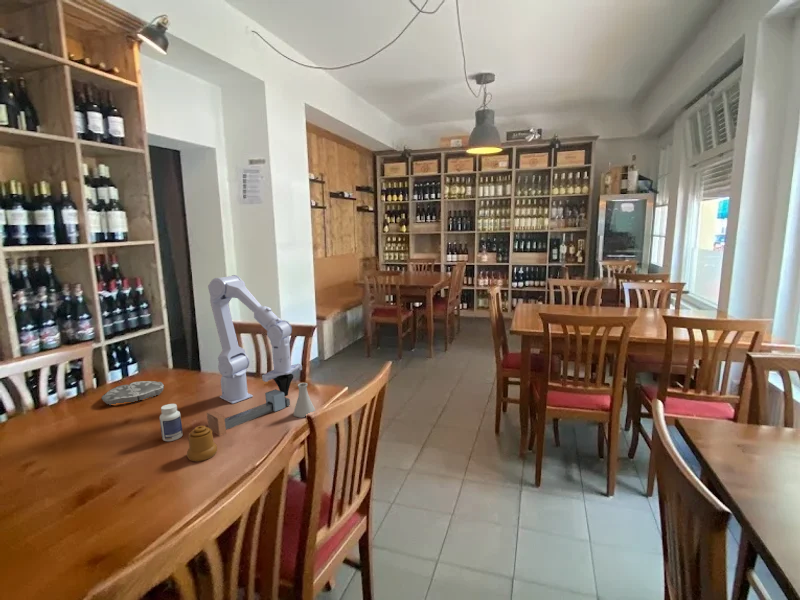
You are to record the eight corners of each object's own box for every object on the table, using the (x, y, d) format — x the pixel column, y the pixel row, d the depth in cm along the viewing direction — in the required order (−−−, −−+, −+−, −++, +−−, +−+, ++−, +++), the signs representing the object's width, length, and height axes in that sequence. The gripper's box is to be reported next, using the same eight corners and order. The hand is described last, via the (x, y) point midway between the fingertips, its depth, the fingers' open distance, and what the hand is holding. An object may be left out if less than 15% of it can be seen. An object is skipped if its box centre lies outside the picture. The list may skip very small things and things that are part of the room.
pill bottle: (187, 434, 125) (183, 404, 124) (170, 443, 120) (166, 411, 119) (174, 431, 128) (170, 401, 126) (158, 439, 123) (154, 408, 121)
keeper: (266, 407, 142) (265, 392, 142) (276, 403, 145) (275, 389, 145) (275, 411, 139) (274, 396, 138) (285, 407, 142) (284, 392, 141)
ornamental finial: (220, 446, 118) (213, 461, 111) (192, 449, 117) (183, 464, 110) (218, 420, 117) (210, 432, 109) (189, 422, 115) (179, 435, 108)
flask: (318, 408, 141) (316, 380, 139) (311, 418, 134) (309, 388, 132) (297, 408, 142) (295, 380, 140) (289, 418, 135) (287, 388, 133)
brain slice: (157, 384, 169) (156, 377, 168) (169, 395, 156) (168, 388, 156) (98, 398, 156) (96, 390, 155) (105, 412, 143) (104, 404, 143)
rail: (208, 429, 128) (206, 412, 128) (280, 401, 148) (279, 386, 147) (219, 436, 124) (217, 418, 123) (292, 406, 143) (291, 391, 142)
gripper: (269, 365, 134) (272, 405, 137) (306, 354, 145) (308, 391, 147) (257, 361, 139) (260, 399, 141) (294, 350, 150) (296, 386, 152)
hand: (284, 395), depth 145 cm, fingers closed
